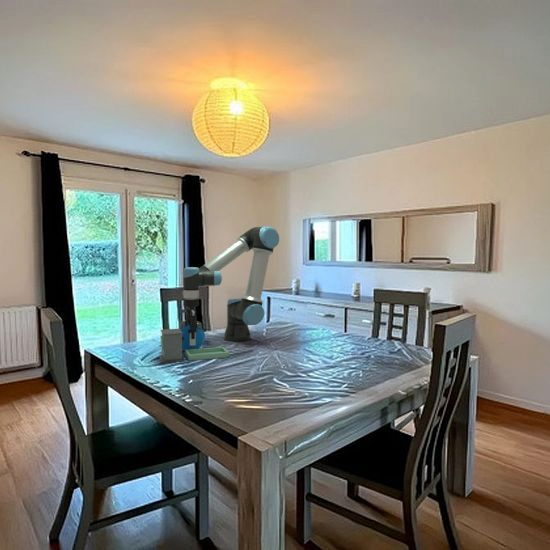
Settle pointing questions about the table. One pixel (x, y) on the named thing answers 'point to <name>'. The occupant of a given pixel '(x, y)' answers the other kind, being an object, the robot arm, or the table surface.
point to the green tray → (206, 353)
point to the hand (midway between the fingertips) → (190, 343)
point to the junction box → (171, 346)
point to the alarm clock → (186, 336)
